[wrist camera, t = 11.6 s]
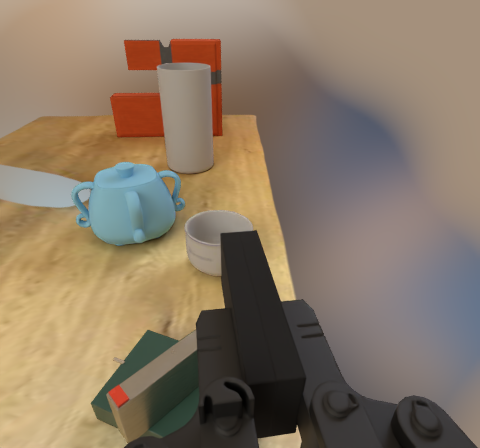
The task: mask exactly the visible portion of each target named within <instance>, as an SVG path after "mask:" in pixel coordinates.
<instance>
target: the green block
mask: <svg viewBox="0 0 480 448" xmlns="http://www.w3.org/2000/svg"><path fill="white" fill-rule="evenodd" d="M178 342H179V341H178V340H175V339H172V338H170V337H167V336H164V335H161V334H158V333H156V332H153V331H150V330H147V332H146V333H145V334H144V335H143V337H142V338H141V339H140V341H139V342H138V343H137V344H136V346H135V347H134V348H133V350H132V351H131V352H130V353H129V355H128V356H127V357H126V359H125V360H124V361H123V360H121V359H118V358H116V357H115V358H114V359H113V361H116V362H118V363H120V364H121V365H120V366H119V368H118V369H117V370H116V371H115V373H114V374H113V375H112V377H111V378H110V379H109V380H108V382H107V383H106V384H105V386H104V387H103V388H102V389H101V391H100V392H99V393H98V394H97V396H96V397H95V398H94V400H93V401H92V402H91V405H92V407H93V410H94V412H95V414H96V417H97V419H99V420H101V421H103V422H106V423H108V424H110V425H112V426H114V427H116V428H118V426H117V423H116V421H115V418H114V415H113V412H112V410H111V407H110V404H109V401H108V399H107V396H106V394H107V393H108V392H109V391H111V390H112V389H113V388H115V387H116V386H118V385H120V384H121V383H122V382H124V381H125V380H127V379H128V378H129V377H131V376H132V375H133V374H135V373H136V372H138V371H139V370H140V369H142V368H143V367H144V366H146V365H147V364H149V363H150V362H151V361H153V360H154V359H156V358H157V357H158V356H160V355H161V354H162V353H164V352H165V351H167V350H168V349H169V348H171V347H172V346H173V345H175V344H176V343H178ZM198 404H199V386H198V387H197V388H196V389H195V390H194V391H192V392H191V393H190V394H189V395H188V396H187V397H185V398H184V399H183V400H182V401H181V402H180V403H178V404H177V405H176V406H175V407H174V408H173V409H171V410H170V411H169V412H168V413H167V414H166V415H165V416H163V417H162V418H161V419H160V420H159V421H158V422H156V423H155V424H154V425H153V426H152V427H151V428H149V429H148V430H147V431H146V432H145V433H144V434H142V435H141V436H140V437H144V436H154V437H157V438H159V439H161V438H163V437H165V436H166V435H168V434H170V433H172V432H174V431H176V430H178V429H179V428H181V427H182V426H184V425H185V424H186V423H187V422H188V421H189V420H190V419H191V418H192V417H193V415H194V413H195V412H196V410H197V407H198Z"/></svg>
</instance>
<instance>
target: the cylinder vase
mask: <svg viewBox="0 0 480 448" xmlns="http://www.w3.org/2000/svg"><path fill="white" fill-rule="evenodd" d="M157 72H158V82H159V91H160V100H161V109H162V118H163V127H164V136H165V145H166V154H167V163H168V166H169V168H170V169H171V170H173V171H175V172H179V173H185V174H193V173H200V172H203V171H206V170H208V169H210V168H211V167H212V165H213V162H214V161H213V130H212V99H211V68H210V65H207V64H201V63H168V64H162V65H158V66H157Z"/></svg>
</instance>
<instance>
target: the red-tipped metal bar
mask: <svg viewBox="0 0 480 448" xmlns="http://www.w3.org/2000/svg"><path fill="white" fill-rule="evenodd" d="M198 386H199V379H198V358H197V337H196V330H194V331H193V332H191V333H190V334H189V335H187V336H186V337H184V338H183V339H182V340H180V341H179V342H178V343H176V344H175V345H173V346H172V347H171V348H169V349H168V350H167V351H165V352H164V353H162V354H161V355H160V356H158V357H157V358H156V359H154V360H153V361H151V362H150V363H149V364H147V365H146V366H144V367H143V368H142V369H140V370H139V371H138V372H136V373H135V374H133V375H132V376H131V377H129V378H128V379H127V380H125V381H124V382H122V383H121V384H120V385H118V386H116V387H115V388H113V389H112V390H111V391H109V392H108V393H107V394H106V396H107V399H108V401H109V404H110V407H111V410H112V412H113V415H114V418H115V421H116V423H117V426H118V429H119V431H120V432H121V434H122V435H123V437H124V438H125V440H126V441H127V443H129V442H131V441H133V440H135V439H137V438H139V437H140V436H141V435H142V434H144V433H145V432H146V431H147V430H148V429H149V428H151V427H152V426H153V425H154V424H155V423H156V422H158V421H159V420H160V419H161V418H162V417H163V416H165V415H166V414H167V413H168V412H169V411H170V410H171V409H173V408H174V407H175V406H176V405H177V404H178V403H180V402H181V401H182V400H183V399H184V398H185V397H187V396H188V395H189V394H190V393H191V392H192V391H194V390H195V389H196V388H197V387H198Z"/></svg>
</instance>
